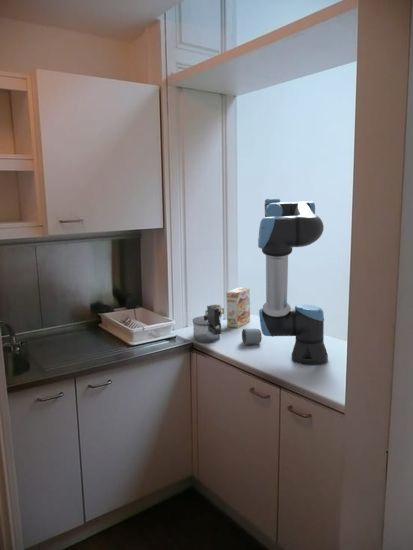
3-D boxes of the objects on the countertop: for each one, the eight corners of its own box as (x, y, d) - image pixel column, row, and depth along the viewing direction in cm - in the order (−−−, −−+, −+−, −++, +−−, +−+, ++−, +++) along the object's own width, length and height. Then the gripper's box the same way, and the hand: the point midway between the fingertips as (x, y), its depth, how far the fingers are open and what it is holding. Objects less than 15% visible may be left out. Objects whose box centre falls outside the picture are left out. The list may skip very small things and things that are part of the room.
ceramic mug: (262, 345, 214) (262, 329, 213) (246, 347, 213) (245, 331, 212) (255, 339, 225) (255, 324, 224) (239, 340, 223) (239, 325, 222)
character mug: (208, 332, 238) (207, 308, 236) (203, 329, 245) (202, 305, 242) (227, 329, 242) (226, 306, 240) (221, 326, 249) (221, 303, 247)
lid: (188, 320, 229) (187, 302, 228) (213, 316, 234) (212, 299, 233) (203, 329, 211) (203, 311, 209) (230, 325, 216) (229, 307, 214)
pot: (231, 344, 217) (231, 326, 215) (207, 349, 212) (206, 330, 210) (209, 331, 239) (209, 315, 238) (186, 335, 234) (186, 318, 233)
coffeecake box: (238, 328, 244) (236, 292, 241) (226, 326, 248) (225, 291, 245) (250, 321, 257) (250, 287, 254) (239, 320, 261) (238, 286, 257)
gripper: (287, 231, 214) (287, 280, 218) (272, 229, 226) (272, 276, 230) (273, 232, 211) (274, 281, 215) (259, 230, 223) (260, 278, 227)
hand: (273, 279), depth 222 cm, fingers closed
